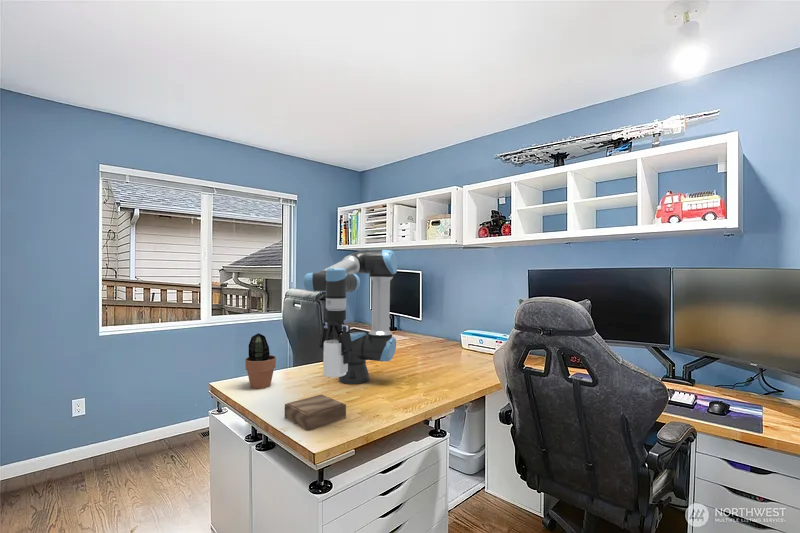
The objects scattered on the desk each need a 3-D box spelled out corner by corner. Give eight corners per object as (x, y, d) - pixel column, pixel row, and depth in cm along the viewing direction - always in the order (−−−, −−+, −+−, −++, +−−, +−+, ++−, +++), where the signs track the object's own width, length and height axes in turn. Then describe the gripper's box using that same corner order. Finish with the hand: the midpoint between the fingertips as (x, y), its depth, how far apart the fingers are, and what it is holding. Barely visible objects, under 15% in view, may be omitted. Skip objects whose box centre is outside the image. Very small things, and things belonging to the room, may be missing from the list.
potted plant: (281, 386, 180) (281, 332, 180) (252, 392, 170) (253, 336, 170) (267, 380, 189) (268, 329, 190) (239, 386, 180) (240, 332, 180)
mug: (323, 369, 148) (324, 338, 148) (346, 368, 149) (346, 337, 149) (321, 377, 136) (322, 344, 136) (346, 377, 137) (346, 343, 137)
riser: (284, 417, 142) (284, 403, 142) (321, 406, 153) (321, 393, 153) (307, 430, 130) (308, 414, 130) (345, 418, 142) (346, 403, 142)
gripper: (310, 308, 147) (309, 366, 147) (347, 312, 132) (346, 377, 132) (326, 306, 153) (325, 362, 153) (363, 311, 138) (362, 373, 137)
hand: (335, 369), depth 142 cm, fingers closed on mug, 10 cm apart
